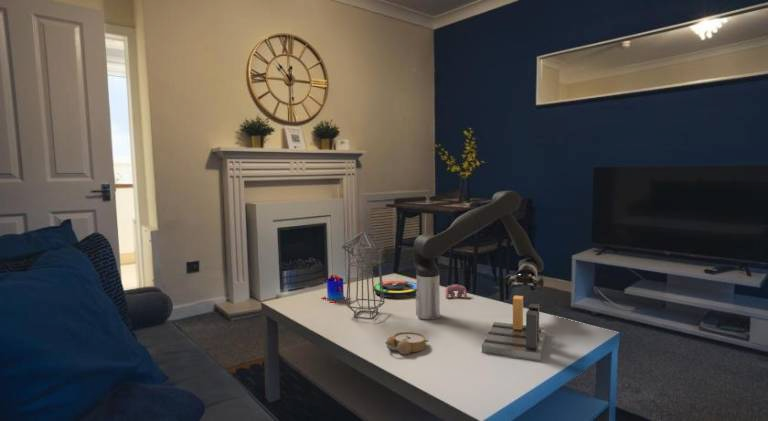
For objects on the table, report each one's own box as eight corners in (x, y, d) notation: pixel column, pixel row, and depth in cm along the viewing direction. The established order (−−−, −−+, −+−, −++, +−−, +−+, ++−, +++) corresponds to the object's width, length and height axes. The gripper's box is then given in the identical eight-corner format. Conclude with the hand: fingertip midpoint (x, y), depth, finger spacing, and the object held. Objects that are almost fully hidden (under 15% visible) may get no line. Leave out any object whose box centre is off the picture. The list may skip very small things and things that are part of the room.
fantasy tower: (318, 299, 204) (317, 274, 203) (340, 294, 212) (339, 270, 210) (331, 304, 195) (330, 278, 194) (353, 299, 202) (352, 274, 201)
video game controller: (466, 300, 202) (465, 285, 204) (467, 298, 197) (466, 283, 200) (445, 300, 203) (444, 285, 205) (445, 298, 198) (445, 283, 201)
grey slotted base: (545, 334, 153) (546, 297, 152) (540, 361, 133) (540, 317, 131) (494, 328, 161) (494, 292, 160) (481, 352, 140) (481, 311, 139)
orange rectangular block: (523, 326, 154) (523, 296, 153) (521, 330, 151) (521, 299, 150) (514, 325, 156) (514, 295, 155) (512, 328, 152) (512, 298, 151)
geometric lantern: (341, 318, 176) (338, 233, 174) (357, 308, 190) (355, 229, 188) (376, 322, 170) (373, 234, 168) (391, 311, 184) (388, 229, 182)
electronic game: (405, 302, 196) (405, 292, 196) (364, 295, 209) (364, 286, 209) (428, 290, 216) (428, 280, 215) (389, 284, 228) (389, 275, 228)
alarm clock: (433, 337, 146) (403, 343, 136) (431, 352, 146) (401, 358, 136) (409, 329, 154) (378, 333, 144) (407, 343, 154) (377, 348, 144)
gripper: (508, 264, 180) (502, 273, 165) (545, 266, 174) (542, 276, 159) (509, 282, 180) (503, 293, 166) (545, 284, 174) (542, 296, 160)
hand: (522, 284), depth 162 cm, fingers open, 8 cm apart
